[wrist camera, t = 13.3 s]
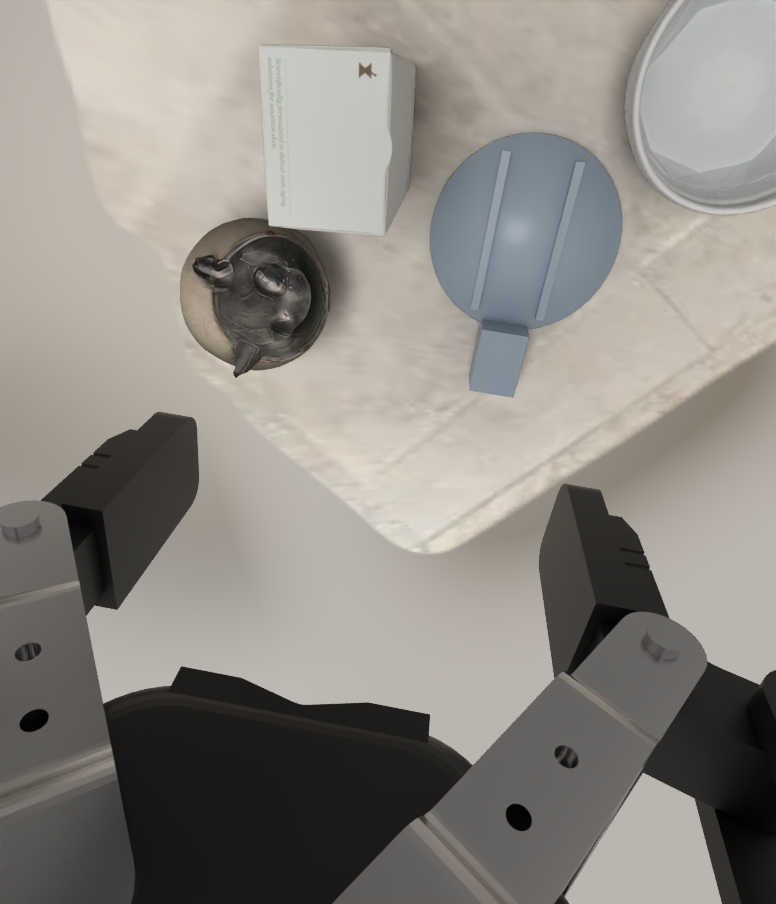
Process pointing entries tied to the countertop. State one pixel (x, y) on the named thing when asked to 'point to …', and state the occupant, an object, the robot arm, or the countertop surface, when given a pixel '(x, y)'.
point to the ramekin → (707, 105)
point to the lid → (523, 244)
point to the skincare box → (336, 136)
